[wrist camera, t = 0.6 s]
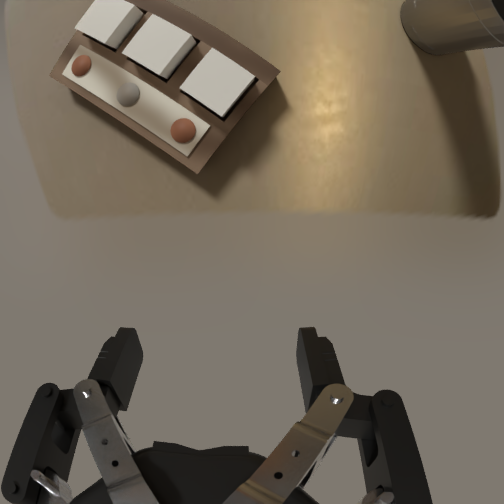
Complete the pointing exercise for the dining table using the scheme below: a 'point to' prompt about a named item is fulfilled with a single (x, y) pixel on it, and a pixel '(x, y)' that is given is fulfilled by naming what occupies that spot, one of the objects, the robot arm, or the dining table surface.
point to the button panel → (162, 85)
